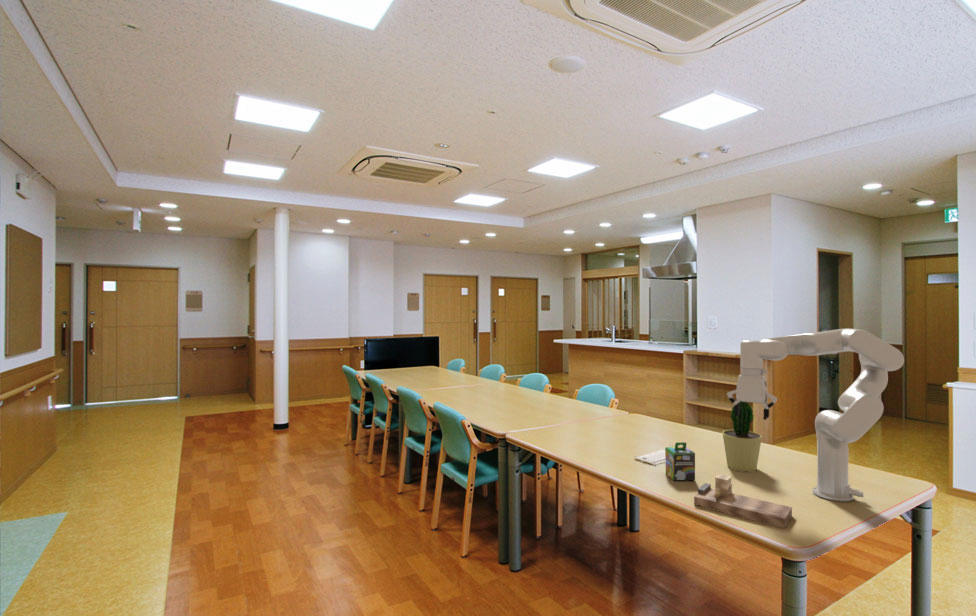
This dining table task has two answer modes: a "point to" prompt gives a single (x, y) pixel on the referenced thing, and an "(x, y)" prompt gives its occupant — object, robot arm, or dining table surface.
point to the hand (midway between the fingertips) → (751, 417)
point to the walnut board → (744, 507)
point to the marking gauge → (722, 486)
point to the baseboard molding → (653, 457)
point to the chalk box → (680, 462)
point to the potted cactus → (742, 441)
